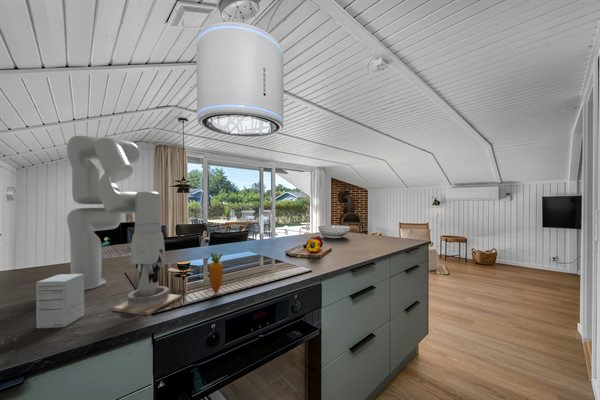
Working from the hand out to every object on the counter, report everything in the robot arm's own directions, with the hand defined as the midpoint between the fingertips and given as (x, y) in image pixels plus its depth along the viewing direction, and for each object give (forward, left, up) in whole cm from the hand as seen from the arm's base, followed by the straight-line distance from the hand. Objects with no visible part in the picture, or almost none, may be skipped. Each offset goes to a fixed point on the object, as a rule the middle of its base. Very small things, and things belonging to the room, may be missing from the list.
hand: (148, 283), depth 84 cm
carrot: (+16, +14, -7) cm, 22 cm away
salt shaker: (0, 0, -3) cm, 3 cm away
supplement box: (-14, -16, -7) cm, 22 cm away
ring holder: (0, 0, -7) cm, 7 cm away
